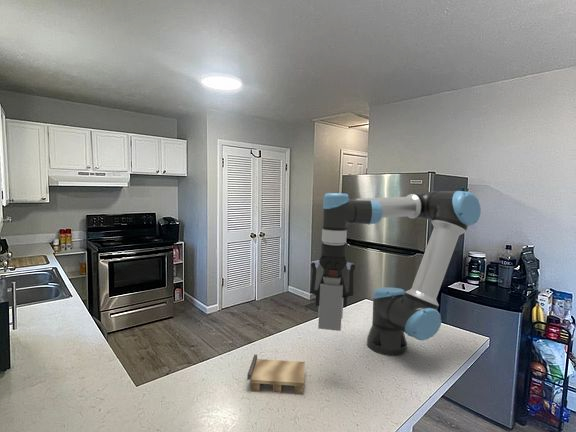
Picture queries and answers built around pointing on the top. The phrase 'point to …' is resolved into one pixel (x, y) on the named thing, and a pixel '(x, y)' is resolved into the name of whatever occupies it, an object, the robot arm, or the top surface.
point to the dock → (276, 374)
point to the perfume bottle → (330, 302)
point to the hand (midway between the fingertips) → (330, 316)
